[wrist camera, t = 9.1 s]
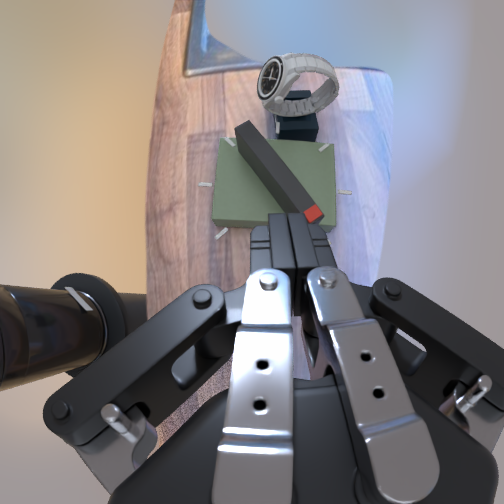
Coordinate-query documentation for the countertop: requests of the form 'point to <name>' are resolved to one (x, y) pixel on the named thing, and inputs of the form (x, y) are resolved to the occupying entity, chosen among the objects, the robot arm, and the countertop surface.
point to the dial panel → (257, 195)
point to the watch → (295, 94)
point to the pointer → (275, 174)
